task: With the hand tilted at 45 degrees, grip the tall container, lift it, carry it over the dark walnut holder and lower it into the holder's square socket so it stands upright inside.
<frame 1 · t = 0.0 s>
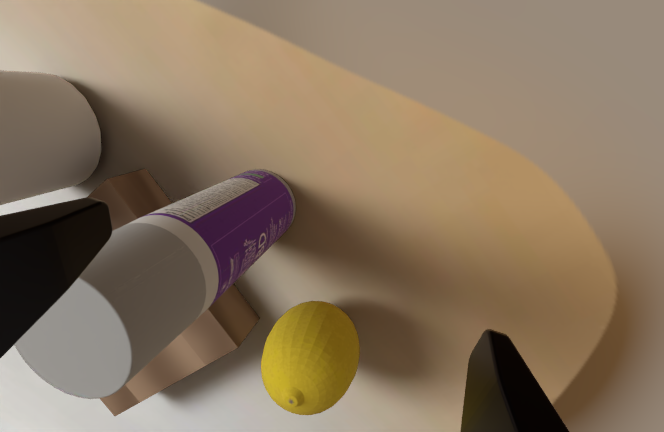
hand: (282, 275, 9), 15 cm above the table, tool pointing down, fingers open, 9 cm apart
can: (66, 130, 28), on the table
lemon: (328, 315, 27), on the table
container: (262, 203, 26), on the table
holder: (145, 287, 30), on the table
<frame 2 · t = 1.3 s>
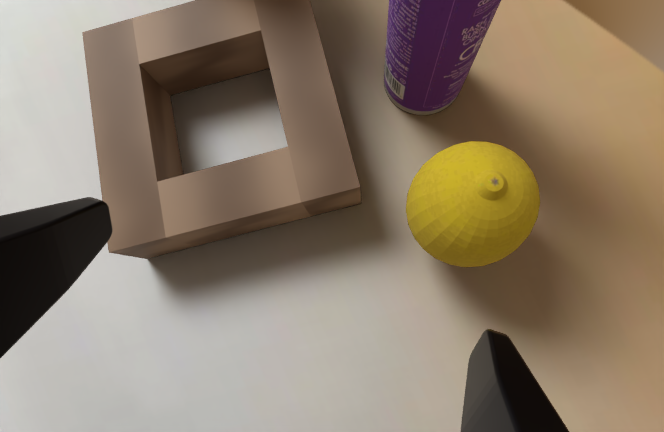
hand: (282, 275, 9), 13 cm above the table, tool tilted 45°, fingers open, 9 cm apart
lemon: (449, 222, 22), on the table
container: (421, 81, 24), on the table
holder: (232, 130, 24), on the table
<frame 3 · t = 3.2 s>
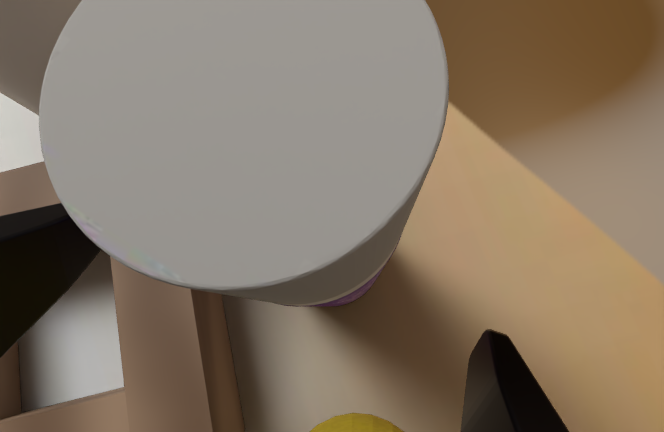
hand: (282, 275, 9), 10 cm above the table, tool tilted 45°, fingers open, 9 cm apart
can: (122, 86, 22), on the table
container: (332, 256, 19), on the table
holder: (87, 317, 19), on the table
when the fingers open (9 cm above the table, at t = 8.0 s): container drops 2 cm, resting in holder.
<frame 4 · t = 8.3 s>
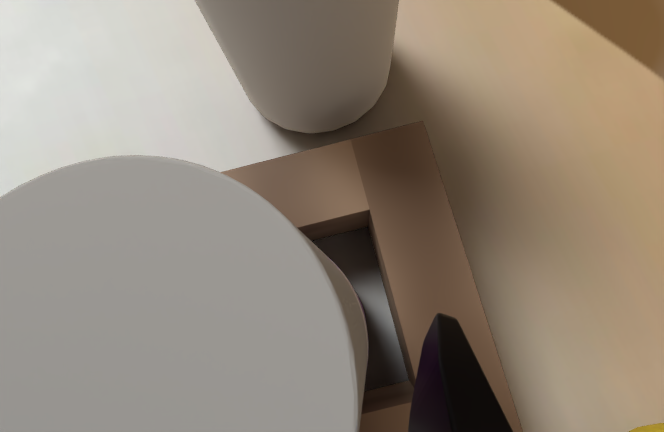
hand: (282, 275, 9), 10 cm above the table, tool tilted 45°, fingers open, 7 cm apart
can: (317, 75, 21), on the table
container: (314, 322, 18), resting in holder
holder: (312, 318, 18), on the table
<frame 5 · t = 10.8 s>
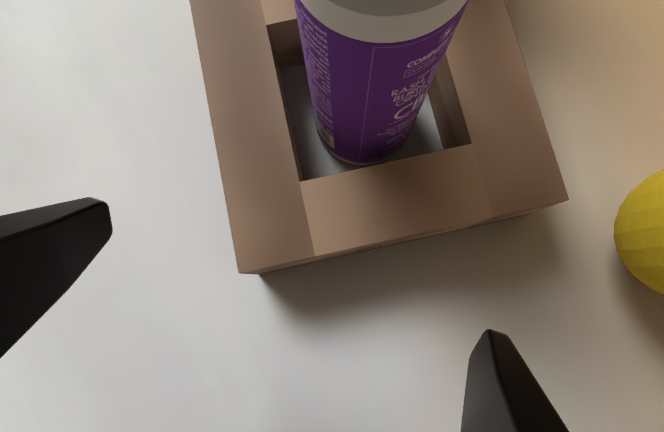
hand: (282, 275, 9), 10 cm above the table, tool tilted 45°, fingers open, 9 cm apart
lemon: (633, 241, 19), on the table
container: (362, 122, 20), resting in holder
holder: (361, 116, 20), on the table
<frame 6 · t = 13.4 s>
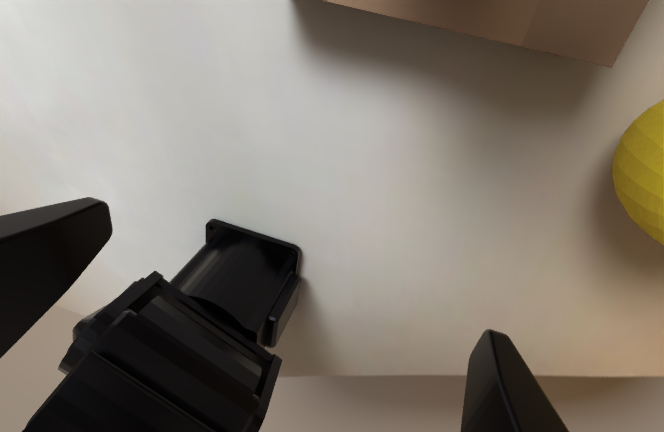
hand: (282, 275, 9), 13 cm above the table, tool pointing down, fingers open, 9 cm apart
lemon: (663, 130, 17), on the table
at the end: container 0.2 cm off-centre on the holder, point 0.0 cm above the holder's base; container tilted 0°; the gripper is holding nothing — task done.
